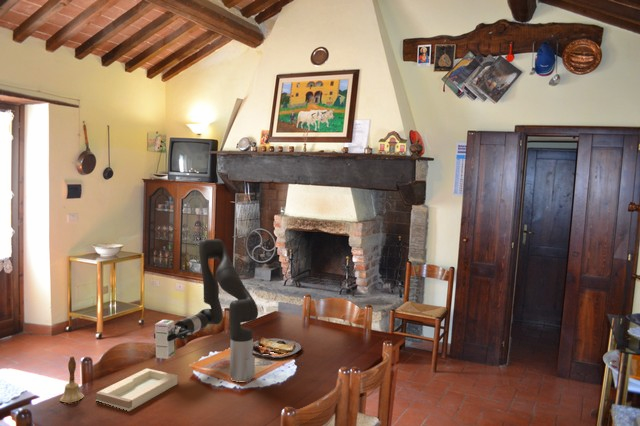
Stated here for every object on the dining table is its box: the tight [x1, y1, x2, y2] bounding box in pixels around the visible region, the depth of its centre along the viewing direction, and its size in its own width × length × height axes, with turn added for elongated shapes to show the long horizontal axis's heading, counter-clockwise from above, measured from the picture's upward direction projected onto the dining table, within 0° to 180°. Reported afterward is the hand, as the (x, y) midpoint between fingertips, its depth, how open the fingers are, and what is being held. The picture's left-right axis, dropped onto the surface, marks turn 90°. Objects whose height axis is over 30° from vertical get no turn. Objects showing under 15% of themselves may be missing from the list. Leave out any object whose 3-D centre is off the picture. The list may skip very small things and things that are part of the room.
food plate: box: [253, 337, 302, 358], centre depth 243 cm, size 25×23×4 cm
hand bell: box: [59, 356, 85, 402], centre depth 187 cm, size 8×8×16 cm
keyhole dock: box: [95, 367, 178, 412], centre depth 194 cm, size 26×16×4 cm, turn 156°
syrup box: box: [154, 319, 176, 360], centre depth 207 cm, size 6×6×14 cm
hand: (161, 337), depth 205 cm, fingers closed on syrup box, 6 cm apart
